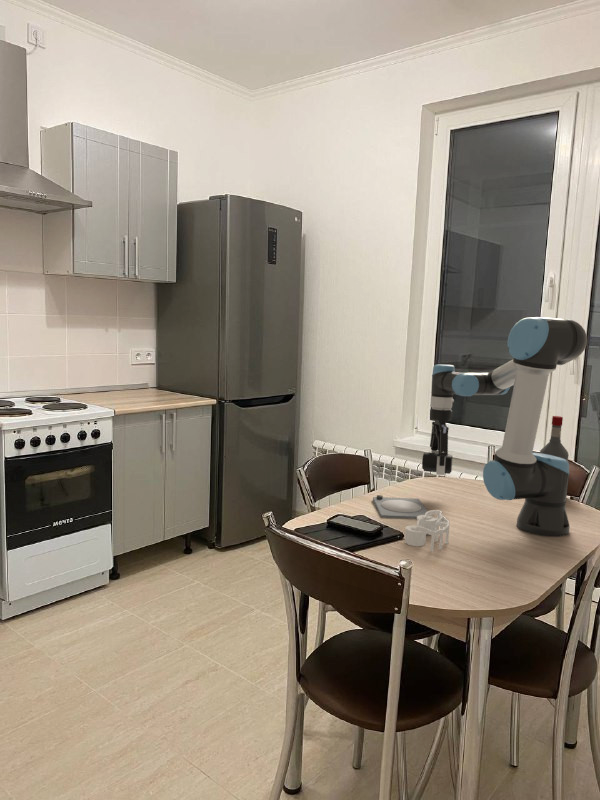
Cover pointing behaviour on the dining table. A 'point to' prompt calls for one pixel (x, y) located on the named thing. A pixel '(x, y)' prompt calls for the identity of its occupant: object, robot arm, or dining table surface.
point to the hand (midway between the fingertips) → (437, 471)
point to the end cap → (435, 463)
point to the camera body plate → (399, 507)
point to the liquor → (555, 440)
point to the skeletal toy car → (428, 529)
